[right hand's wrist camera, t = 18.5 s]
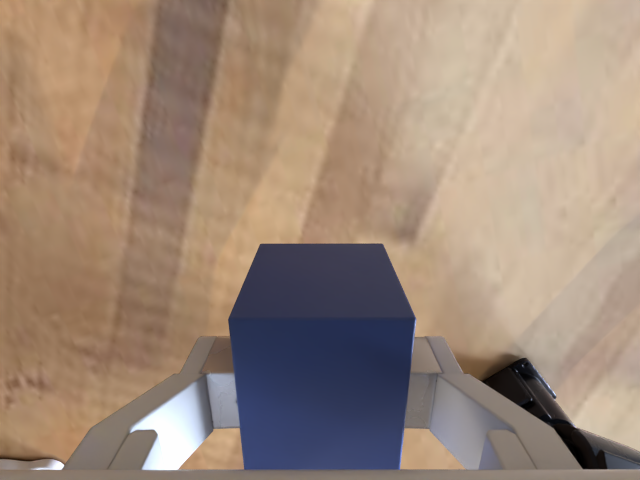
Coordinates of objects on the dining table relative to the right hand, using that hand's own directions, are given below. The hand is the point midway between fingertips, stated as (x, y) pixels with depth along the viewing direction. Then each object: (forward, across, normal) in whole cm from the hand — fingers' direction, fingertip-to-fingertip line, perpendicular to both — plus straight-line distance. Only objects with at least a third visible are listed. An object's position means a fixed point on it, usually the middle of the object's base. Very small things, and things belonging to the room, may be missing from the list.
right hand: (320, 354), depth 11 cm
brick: (+2, 0, 0) cm, 2 cm away
